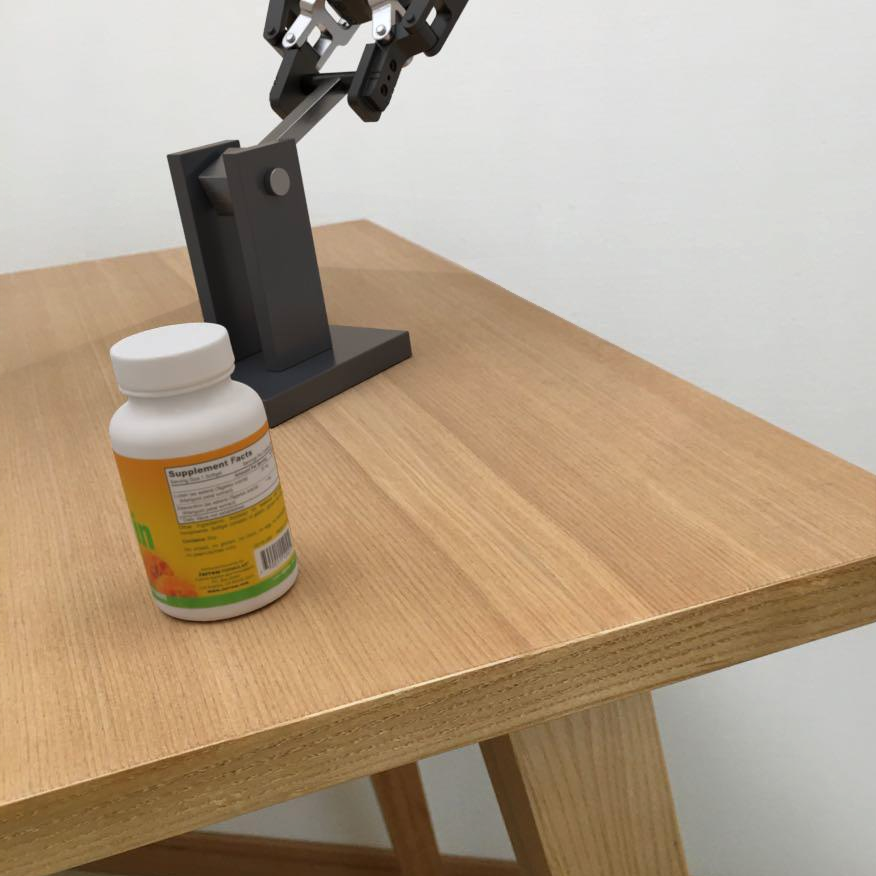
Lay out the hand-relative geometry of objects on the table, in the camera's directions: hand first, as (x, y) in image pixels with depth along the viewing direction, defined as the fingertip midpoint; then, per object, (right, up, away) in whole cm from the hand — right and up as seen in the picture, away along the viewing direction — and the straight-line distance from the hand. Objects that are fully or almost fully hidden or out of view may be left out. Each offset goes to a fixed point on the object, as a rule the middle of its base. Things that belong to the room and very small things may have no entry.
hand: (322, 114), depth 69 cm
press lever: (-1, -3, -1) cm, 3 cm away
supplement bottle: (+1, -26, -23) cm, 34 cm away
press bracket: (-3, -15, 0) cm, 15 cm away
